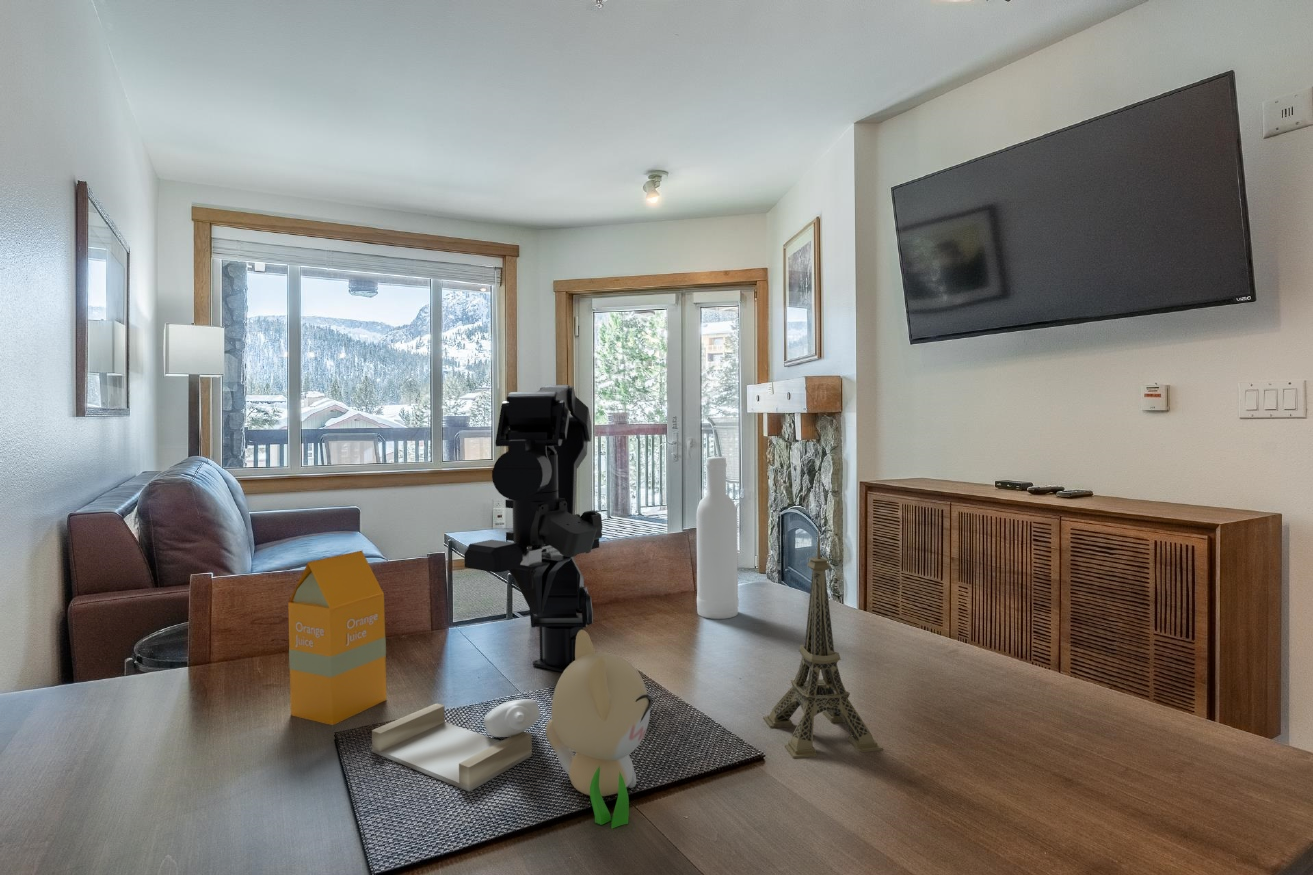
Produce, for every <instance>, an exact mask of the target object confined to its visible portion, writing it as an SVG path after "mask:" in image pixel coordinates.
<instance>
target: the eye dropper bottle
mask: <svg viewBox="0 0 1313 875" xmlns="http://www.w3.org/2000/svg"><path fill="white" fill-rule="evenodd" d="M540 717H541V712H540V708H539V706H538V703H537V701H536V700H534V699H531V698H522V699H514V700H509V701H506V702H503V703H501V704H499V705H497V706H496V707H494V708H493V709H491V710H490V711H489V712H488V713H486V715H485V716H484V718H483V724H484V727H485V730H486V732H487V734H488V735H490V736H491V737H495V738H508V737H510V736H513V735H516V734H519V733H521V732H523V731H524V732H526V731H527V730H528V729H530V728H532V726H534V725H535V723H537V722H538V721H539V719H540Z"/></svg>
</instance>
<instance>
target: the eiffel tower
mask: <svg viewBox="0 0 1313 875" xmlns="http://www.w3.org/2000/svg"><path fill="white" fill-rule="evenodd" d="M817 529H818V530H817V534H818V535H817V549H816V550H817V552H816V556H814V557H808V559H809V562H808V563H807V564H806V566H807V567H809V569H811V570H812V572H811V581H810V593H809V602H808V612H807V622H806V631H805V641H804V644H800V645H799V649H798V652H799V653H800V655H801V656H802V657H801V661H800V664H799V668H798V672H797V673H796V675H795V678H794V679H790V682H791V685H792V687H790V688H789V690H787V692H786V693H785V695H783V696H782V697H781V699H780V700H779V701H778V702H777V703H776V705H775V706H774V707H773V708H772V710H771V712H770V714H768V715H766V716H763V717H762V719H763V721H764V722H765V723H766V724H767V726H768V727H769V729H773V728H784V727H792V726H793V721H792V720H791V718H792V717H793V715H794V714H795V712H796V711H797V710H798V709H799V707H800V708H801V710H802V712H803V715H802V717H801V718H800V720H799V723H798V724H797V725H796V728H795V729H794V731H793V733H792V734H791V737H790V741H788V743H787V744H784V749H785V750H786V751H787V752H788V754H789V755H790V756H791V757H792V759H800V758H801V759H803V758H809V757H810V758H811V757H813V758H815V757H817V756H818V754H817V752H816V748H815V747H814V746H813V745H814V742H813V741H814V726H815V725H814V723H815V716H817V715H819V714H821V713H822V715H824V717H825V718H827V720H828V721H829V722H830V723H831V724H832V723H845V726H846V728H847V730H848V731H849V732H850V735H849V736H848V738H849V743H850V744H851V745H852V746H854V748H856V750H857V751H858V752H859V753H863V752H864V753H867V752H876V751H883V750H884V748H883V746H882V745H881V744H880V743H879V742H878V741H876V740H875V738H874V737H873V734H872V733H871V732H870V729H869V728H868V726H867V725H866V723H865V722H864V721H863V719H862V718H861V717H860V715H859V713H858V712H857V710H856V708H855V707H854V706H853V704H852V703H851V701H850V699H849V697H850V695H851V693H850V692H848V691H847V690H846V688H845V686H844V684H843V681H842V678H841V674H840V670H839V667H838V662H839V661H841V656H840V652H838V651H835V647H834V638H833V630H832V629H833V627H832V621H831V620H832V619H831V610H830V601H829V594H828V593H829V592H828V585H827V584H828V583H827V576H826V571H828V570H830V569H832V567H831V565H830V564H829V561H830V559H828V558H826V557H824V556H821V545H820V544H821V543H820V542H821V541H820V523H818V524H817ZM820 672H821V675H822V678H820Z"/></svg>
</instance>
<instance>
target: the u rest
mask: <svg viewBox="0 0 1313 875" xmlns="http://www.w3.org/2000/svg"><path fill="white" fill-rule="evenodd" d="M445 713H446V712H445V705H443V704H441V703H434V704H431V705H428V706H427V707H424V708H422V709H420V710H417V711H414V712H413V713H409V714H407V715H406V716H405V715H404V716H402V717H401V718H398V719H395V720H393V721H391V722H388V723H386V724H383V725H381V726H379V727H376V728H374V729H371V745H372V746H371V749H372V750H371V752H372V753H374V754H376V755H378V756H381V757H384V758H385V759H389V760H391V761H392V762H395V763H398V764H401V765H403V766H405V767H408V768H410V769H412V770H415V771H417V772H420V773H423V774H425V775H427V776H430V777H433V778H435V779H437V780H440V781H442V782H444V783H447V784H450V785H452V786H454V787H456V788H459V789H460V790H461V789H462V790H463V791H466V792H472V791H473V790H476V789H477V788H478V787H480V786H482V785H484V784H485V783H487V782H489V781H491V780H492V779H494V778H496V777H498V776H499V775H501V774H503V773H504V772H506V771H509V770H510V769H511V768H513V767H515V766H517V765H518V764H521V763H522V762H524V761H526V760H527V759H529V758H531V757H532V756H533V754H532V753H533V752H532V751H533V750H532V748H533V747H532V746H533V745H532V733H530V732H527V731H523V732H521V733H519V734H516V735H513V736H508V737H506V738H505V739H503V740H499V739H496V738H494V737H489V736H487V735H484V734H481V733H478V732H476V731H473V730H469V729H467V728H464V727H460V726H458V725H454V724H452V723H449V722H446V721H445V720H446V716H445V715H446V714H445Z"/></svg>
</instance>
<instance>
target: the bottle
mask: <svg viewBox="0 0 1313 875" xmlns="http://www.w3.org/2000/svg"><path fill="white" fill-rule="evenodd" d="M705 467H706V494H705V495H704V497H703V498H701V499H700V500H699V503H698V505H697V508H696V592H697V594H696V595H697V596H696V606H697V607H696V608H697V610H696V611H697V612H696V613H697V615H698V616H700V617H701V618H706V619H712V620H725V619H731V618H735V617H736V616H738V614H739V579H738V578H739V574H738V573H739V570H738V565H739V564H738V563H739V562H738V557H739V556H738V550H739V549H738V510H737V507H736V504H735V502H734V500H732V498H731V497H730V496H728V494H727V460H726V457H724V456H710V457H707V458H706V463H705Z"/></svg>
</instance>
